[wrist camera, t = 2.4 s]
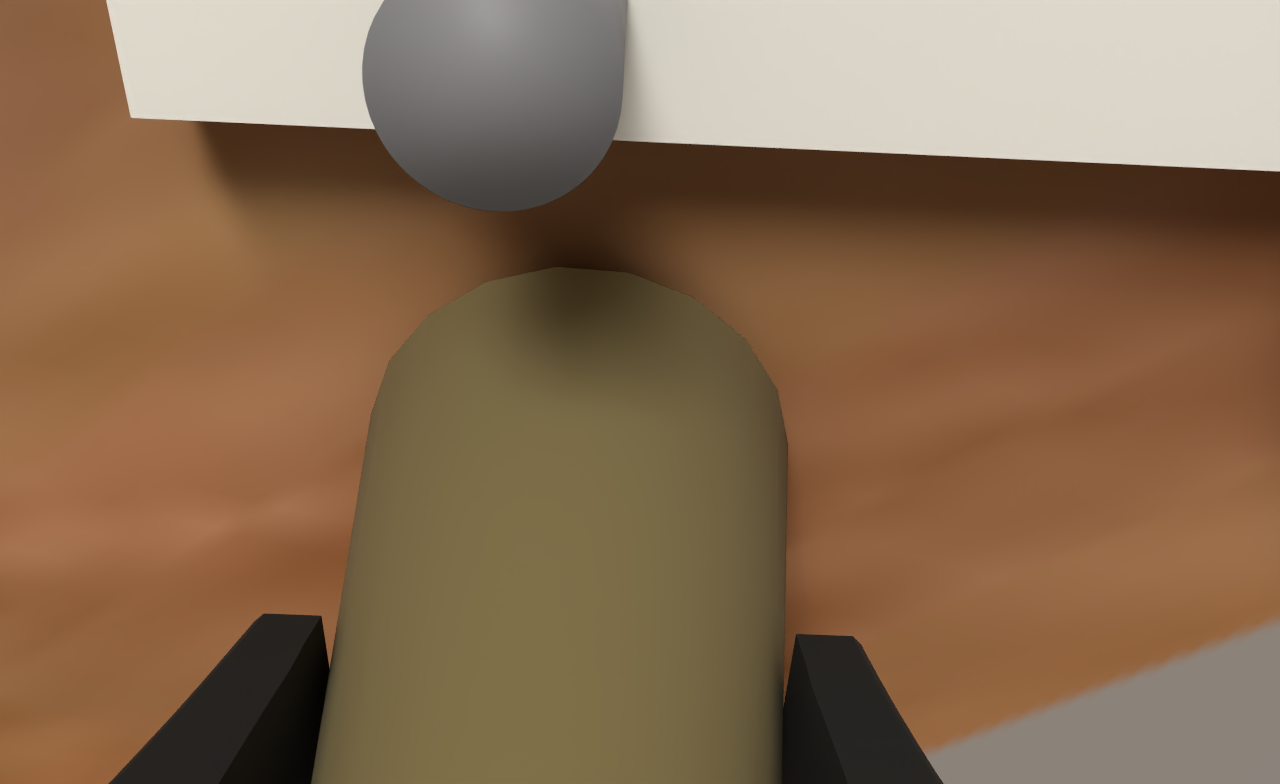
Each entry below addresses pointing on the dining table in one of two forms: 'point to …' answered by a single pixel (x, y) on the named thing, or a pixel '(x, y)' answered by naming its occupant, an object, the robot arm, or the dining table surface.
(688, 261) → the dining table surface
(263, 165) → the dining table surface
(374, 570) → the olive rounded cylinder
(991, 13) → the peg board
